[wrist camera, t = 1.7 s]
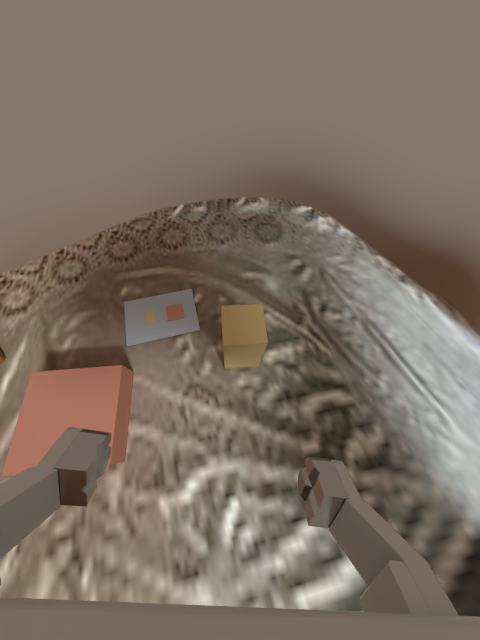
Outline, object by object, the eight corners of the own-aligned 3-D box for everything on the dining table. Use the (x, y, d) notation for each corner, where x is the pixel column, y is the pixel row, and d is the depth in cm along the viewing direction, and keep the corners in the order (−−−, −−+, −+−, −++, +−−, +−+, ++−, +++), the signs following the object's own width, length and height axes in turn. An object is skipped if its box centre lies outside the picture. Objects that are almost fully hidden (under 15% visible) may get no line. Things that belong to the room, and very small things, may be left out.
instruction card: (192, 289, 37) (191, 288, 36) (200, 330, 34) (199, 329, 33) (124, 302, 35) (123, 301, 35) (127, 346, 32) (126, 345, 32)
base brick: (134, 372, 31) (122, 364, 28) (126, 460, 27) (110, 464, 23) (54, 379, 30) (31, 372, 27) (33, 470, 26) (1, 476, 23)
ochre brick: (254, 335, 34) (262, 303, 26) (258, 366, 32) (268, 343, 24) (223, 336, 33) (220, 305, 25) (224, 368, 31) (222, 345, 23)
